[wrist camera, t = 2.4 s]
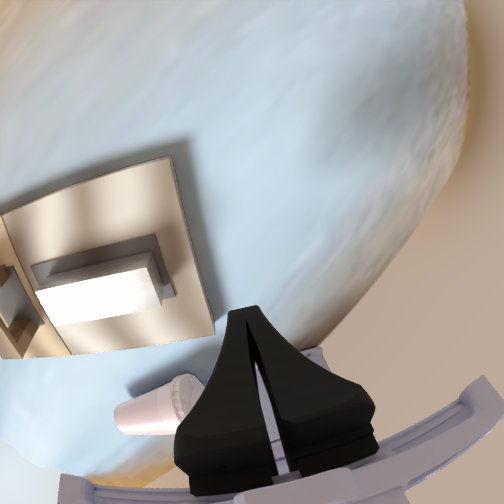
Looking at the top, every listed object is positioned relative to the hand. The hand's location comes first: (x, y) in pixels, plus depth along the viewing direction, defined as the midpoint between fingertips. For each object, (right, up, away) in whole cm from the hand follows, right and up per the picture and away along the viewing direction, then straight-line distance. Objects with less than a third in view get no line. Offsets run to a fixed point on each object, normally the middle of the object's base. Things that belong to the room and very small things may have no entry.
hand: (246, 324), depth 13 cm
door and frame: (-15, +1, +7) cm, 16 cm away
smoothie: (-14, -15, +12) cm, 24 cm away
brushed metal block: (-10, +1, +5) cm, 12 cm away
